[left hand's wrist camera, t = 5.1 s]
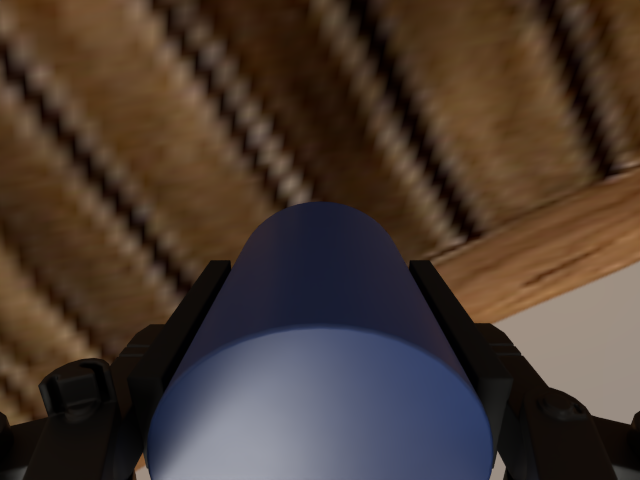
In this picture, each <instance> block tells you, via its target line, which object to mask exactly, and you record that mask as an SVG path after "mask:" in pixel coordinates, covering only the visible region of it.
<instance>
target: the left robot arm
mask: <svg viewBox="0 0 640 480" xmlns="http://www.w3.org/2000/svg"><path fill="white" fill-rule="evenodd" d="M230 271H231V262H230V260H211V261H210V262H209V264H208V265H207V267H206V268H205V269H204V271H203V272H202V274H201V275H200V276H199V278H198V279H197V281H196V282H195V283H194V285H193V286H192V288H191V289H190V290H189V292H188V293H187V295H186V296H185V297H184V299H183V300H182V302H181V303H180V304H179V306H178V307H177V309H176V310H175V311H174V313H173V314H172V316H171V317H170V318H169V320H168V321H167V323H166V324H150V325H149V326H147V327H146V328H144V329H143V330H141V331H140V332H138V333H137V334H136V335H135V336H134V337H133V338H132V340H131V341H130V342H129V343H128V345H127V347H125V348H124V350H123V351H122V352H121V353H120V354H119V357H117V358H116V359H115V361H114V362H113V363H112V364H111V366H109V364H108V363H107V362H106V361H105V360H103V359H97V358H89V359H81V360H77V361H74V362H70V363H68V364H66V365H64V366H61V367H59V368H57V369H55V370H54V371H53V372H51V373H50V374H49V375H47V376H46V377H45V378H44V379H43V380H42V382H41V383H40V384H39V385H38V387H39V390H40V393H41V396H42V399H43V402H44V405H45V408H46V411H47V414H48V417H47V418H43V419H39V420H35V421H30V422H26V423H22V424H18V425H13V426H10V425H9V422H8V420H7V417H6V415H4V414H3V413H1V412H0V480H136V474H135V470H134V468H135V466H136V464H137V462H138V460H139V458H140V457H141V455H142V453H143V454H144V458H145V463H146V467H147V468H148V462H147V439H148V432H149V428H150V424H151V420H152V417H153V415H154V412H155V410H156V408H157V406H158V403H159V401H160V399H161V398H162V396H163V394H164V392H165V390H166V388H167V387H168V385H169V383H170V381H171V379H172V377H173V376H174V374H175V372H176V370H177V368H178V366H179V365H180V363H181V361H182V359H183V357H184V356H185V354H186V352H187V350H188V348H189V346H190V345H191V343H192V341H193V339H194V337H195V335H196V334H197V332H198V330H199V328H200V326H201V324H202V323H203V321H204V319H205V317H206V315H207V313H208V312H209V310H210V308H211V306H212V304H213V302H214V301H215V299H216V297H217V295H218V293H219V291H220V290H221V288H222V286H223V284H224V282H225V281H226V279H227V277H228V275H229V273H230ZM409 271H410V273H411V275H412V277H413V278H414V280H415V282H416V284H417V286H418V287H419V289H420V291H421V293H422V295H423V297H424V298H425V300H426V302H427V304H428V306H429V308H430V309H431V311H432V313H433V315H434V317H435V319H436V320H437V322H438V324H439V326H440V328H441V329H442V331H443V333H444V335H445V337H446V339H447V340H448V342H449V344H450V346H451V348H452V350H453V351H454V353H455V355H456V357H457V359H458V361H459V362H460V364H461V366H462V368H463V370H464V371H465V373H466V375H467V377H468V379H469V381H470V382H471V384H472V386H473V388H474V390H475V392H476V393H477V395H478V397H479V399H480V401H481V403H482V405H483V407H484V409H485V412H486V414H487V416H488V419H489V422H490V427H491V431H492V436H493V454H494V457H493V464H492V469H493V468H494V464H495V459H496V455H497V451H498V452H499V454H500V456H501V458H502V460H503V462H504V464H505V466H506V470H505V474H504V478H503V480H640V411H639V412H638V413H636V414H635V415H634V418H633V421H632V423H631V425H629V424H625V423H620V422H616V421H612V420H608V419H603V418H599V417H595V416H592V415H591V414H590V413H589V411H588V410H587V408H586V407H585V406H584V405H583V404H582V403H580V402H579V401H578V400H577V399H576V398H574V397H572V396H570V395H568V394H566V393H565V392H562V391H559V390H556V389H553V388H550V387H548V386H547V384H546V383H545V382H544V381H543V379H542V378H541V377H540V376H539V375H538V373H537V372H536V371H535V370H534V368H533V367H532V366H531V365H530V364H529V362H528V361H527V360H526V359H525V357H524V356H521V353H520V351H519V350H518V349H517V348H516V347H515V346H514V344H513V343H512V342H511V340H510V339H509V338H508V337H507V335H506V334H505V333H504V332H502V331H501V330H499V329H498V328H496V327H495V326H493V325H492V324H490V323H474V322H473V321H472V319H471V318H470V317H469V315H468V314H467V312H466V311H465V310H464V308H463V307H462V305H461V304H460V303H459V301H458V300H457V298H456V297H455V296H454V294H453V293H452V291H451V290H450V289H449V287H448V286H447V284H446V283H445V282H444V280H443V279H442V277H441V276H440V275H439V273H438V272H437V270H436V269H435V268H434V266H433V265H432V263H431V262H430V261H429V260H410V265H409Z"/></svg>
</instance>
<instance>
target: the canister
mask: <svg viewBox="0 0 640 480" xmlns="http://www.w3.org/2000/svg"><path fill="white" fill-rule="evenodd" d="M493 457H494V454H493V436H492V431H491V427H490V422H489V419H488V416H487V414H486V412H485V409H484V407H483V405H482V403H481V401H480V399H479V397H478V395H477V393H476V392H475V390H474V388H473V386H472V384H471V382H470V381H469V379H468V377H467V375H466V373H465V371H464V370H463V368H462V366H461V364H460V362H459V361H458V359H457V357H456V355H455V353H454V351H453V350H452V348H451V346H450V344H449V342H448V340H447V339H446V337H445V335H444V333H443V331H442V329H441V328H440V326H439V324H438V322H437V320H436V319H435V317H434V315H433V313H432V311H431V309H430V308H429V306H428V304H427V302H426V300H425V298H424V297H423V295H422V293H421V291H420V289H419V287H418V286H417V284H416V282H415V280H414V278H413V277H412V275H411V273H410V271H409V269H408V267H407V266H406V264H405V262H404V260H403V258H402V256H401V255H400V253H399V251H398V249H397V247H396V245H395V244H394V242H393V240H392V239H391V237H390V236H389V234H388V233H387V232H386V231H385V230H384V228H383V227H382V226H381V225H379V224H378V223H377V222H376V221H375V220H374V219H372V218H371V217H369V216H368V215H366V214H365V213H363V212H361V211H359V210H357V209H355V208H352V207H349V206H346V205H343V204H338V203H333V202H308V203H302V204H297V205H294V206H291V207H288V208H286V209H283V210H281V211H279V212H277V213H275V214H274V215H272V216H271V217H269V218H268V219H266V220H265V221H264V222H263V223H262V224H261V225H260V226H258V228H257V229H256V230H255V231H254V232H253V233H252V235H251V236H250V238H249V239H248V241H247V242H246V244H245V246H244V248H243V249H242V251H241V253H240V255H239V257H238V259H237V260H236V262H235V264H234V266H233V268H232V270H231V271H230V273H229V275H228V277H227V279H226V281H225V282H224V284H223V286H222V288H221V290H220V291H219V293H218V295H217V297H216V299H215V301H214V302H213V304H212V306H211V308H210V310H209V312H208V313H207V315H206V317H205V319H204V321H203V323H202V324H201V326H200V328H199V330H198V332H197V334H196V335H195V337H194V339H193V341H192V343H191V345H190V346H189V348H188V350H187V352H186V354H185V356H184V357H183V359H182V361H181V363H180V365H179V366H178V368H177V370H176V372H175V374H174V376H173V377H172V379H171V381H170V383H169V385H168V387H167V388H166V390H165V392H164V394H163V396H162V398H161V399H160V401H159V403H158V406H157V408H156V410H155V412H154V415H153V417H152V420H151V424H150V428H149V432H148V439H147V462H148V470H149V474H150V478H151V480H489V479H490V475H491V472H492V464H493Z"/></svg>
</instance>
